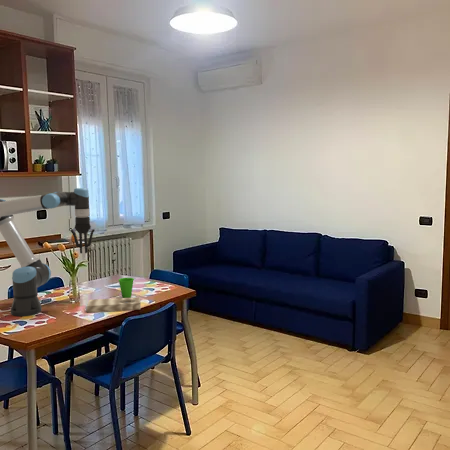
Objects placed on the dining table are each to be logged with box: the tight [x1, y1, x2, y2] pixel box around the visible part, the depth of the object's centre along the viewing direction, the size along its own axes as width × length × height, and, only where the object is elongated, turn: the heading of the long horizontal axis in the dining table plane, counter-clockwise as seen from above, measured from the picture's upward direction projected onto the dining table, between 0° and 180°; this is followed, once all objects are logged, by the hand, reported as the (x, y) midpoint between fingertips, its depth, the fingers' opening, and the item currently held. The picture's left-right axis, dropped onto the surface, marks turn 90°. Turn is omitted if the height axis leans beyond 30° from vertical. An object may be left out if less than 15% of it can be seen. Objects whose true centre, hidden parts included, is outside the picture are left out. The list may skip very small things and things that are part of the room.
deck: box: [86, 296, 142, 313], centre depth 255 cm, size 28×12×4 cm, turn 100°
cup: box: [118, 277, 135, 298], centre depth 275 cm, size 9×9×11 cm
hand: (84, 259), depth 256 cm, fingers closed
